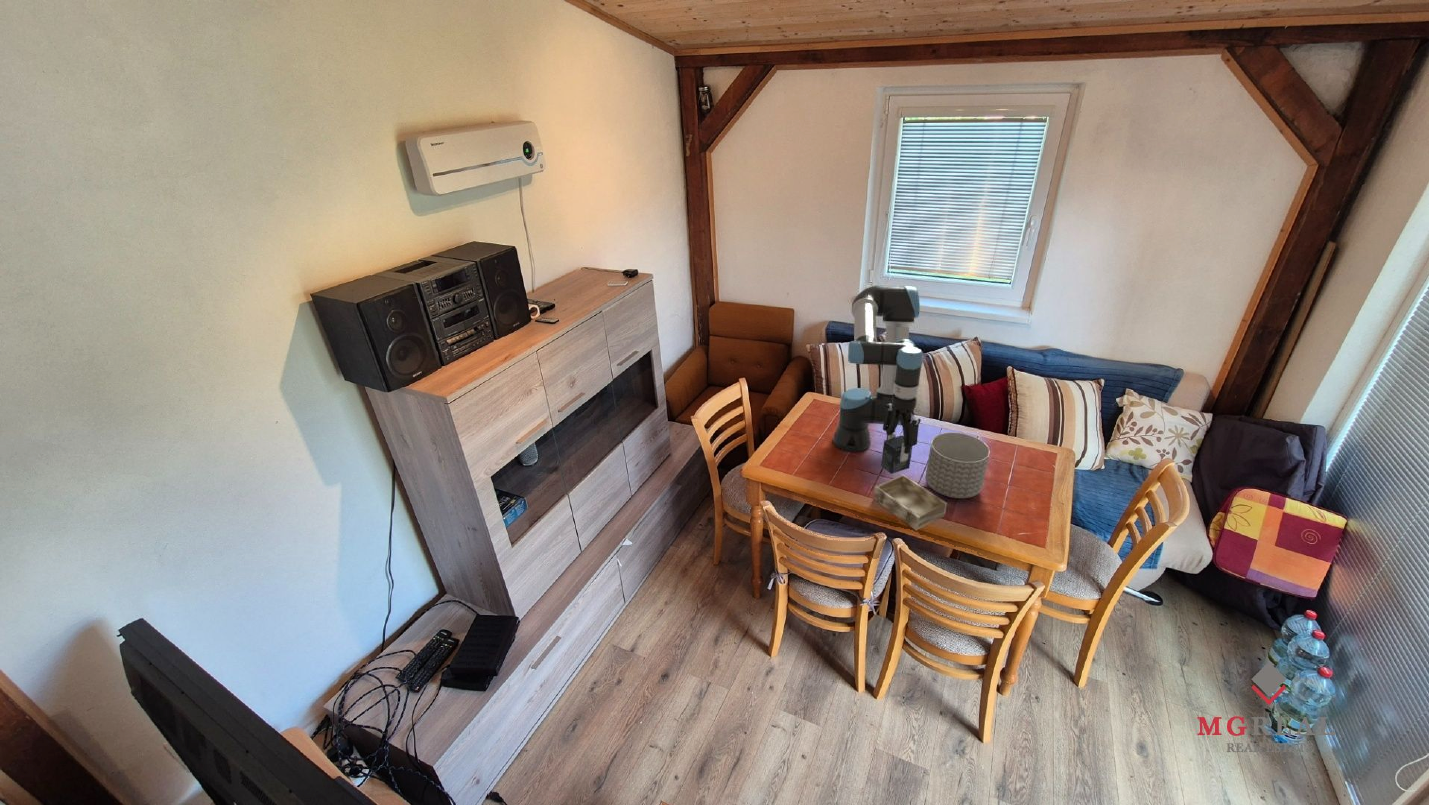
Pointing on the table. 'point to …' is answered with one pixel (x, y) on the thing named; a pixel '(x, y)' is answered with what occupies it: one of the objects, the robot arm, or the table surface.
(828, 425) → the table surface
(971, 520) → the table surface
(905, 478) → the crate
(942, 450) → the planter
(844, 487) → the table surface
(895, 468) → the box
